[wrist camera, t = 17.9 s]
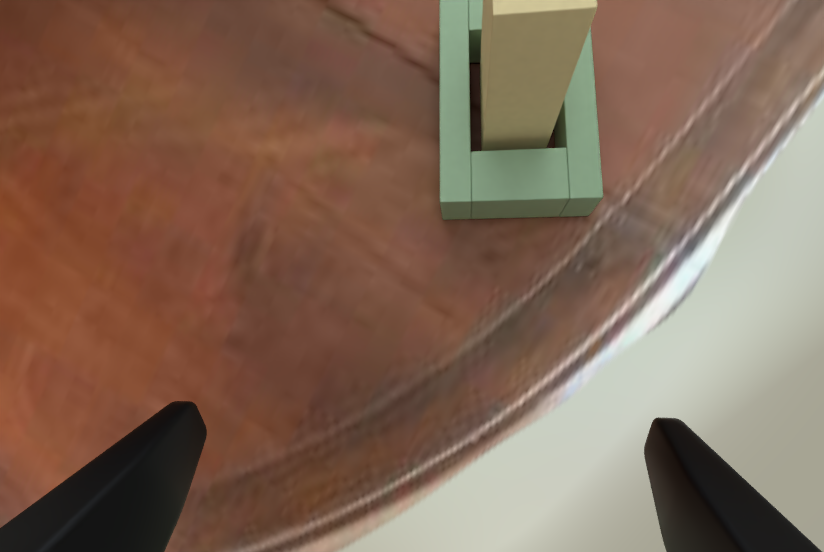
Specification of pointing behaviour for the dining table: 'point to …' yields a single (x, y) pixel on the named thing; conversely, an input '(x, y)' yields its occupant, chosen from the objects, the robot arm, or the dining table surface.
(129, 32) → the dining table surface
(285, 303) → the dining table surface
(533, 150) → the base
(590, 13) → the beige rectangular block
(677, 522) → the robot arm
